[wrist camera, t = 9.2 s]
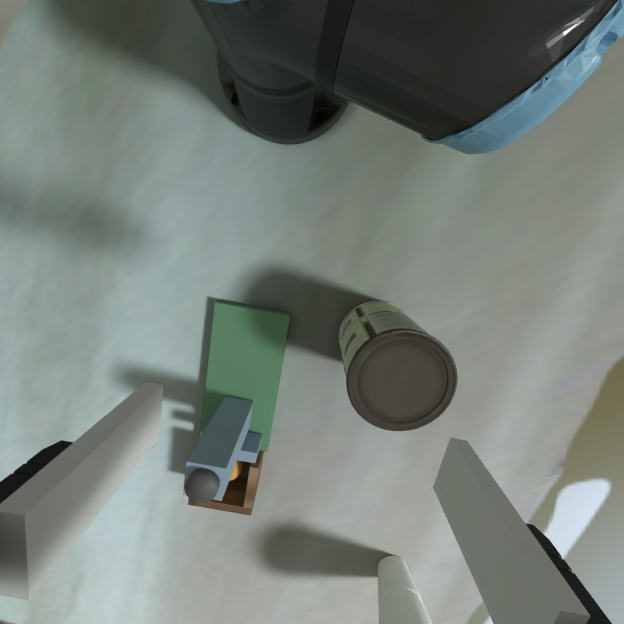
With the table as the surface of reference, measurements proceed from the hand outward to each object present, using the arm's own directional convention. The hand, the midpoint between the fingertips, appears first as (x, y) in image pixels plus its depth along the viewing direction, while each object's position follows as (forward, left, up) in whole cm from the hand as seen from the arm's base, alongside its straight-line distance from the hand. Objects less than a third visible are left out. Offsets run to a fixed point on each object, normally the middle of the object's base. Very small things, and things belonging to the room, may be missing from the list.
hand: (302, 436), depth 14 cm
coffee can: (+3, +9, -29) cm, 30 cm away
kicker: (+18, -8, -27) cm, 33 cm away
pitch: (+12, -8, -29) cm, 32 cm away
